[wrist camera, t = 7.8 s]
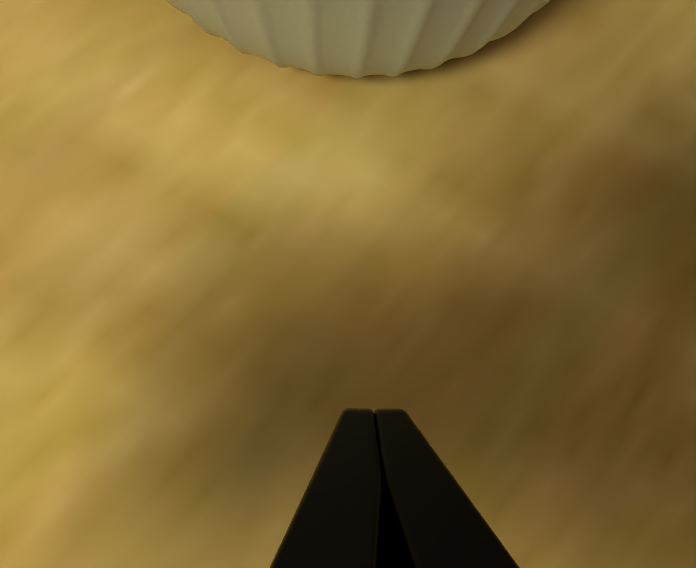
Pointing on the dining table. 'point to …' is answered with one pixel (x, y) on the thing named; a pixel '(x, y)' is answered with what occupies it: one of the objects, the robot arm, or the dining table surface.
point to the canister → (358, 31)
